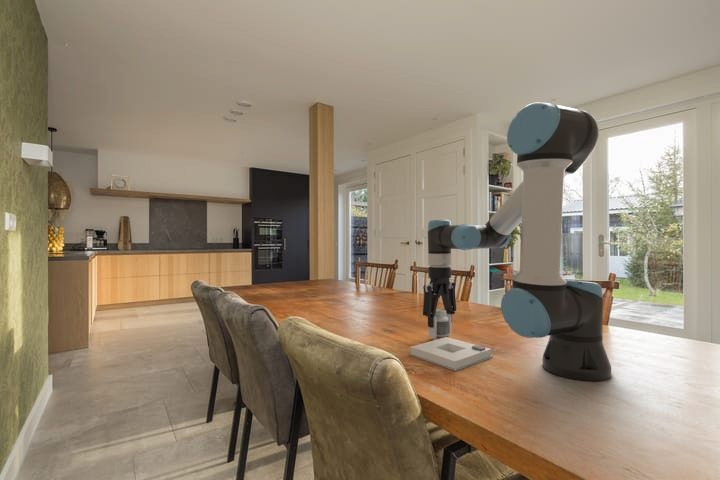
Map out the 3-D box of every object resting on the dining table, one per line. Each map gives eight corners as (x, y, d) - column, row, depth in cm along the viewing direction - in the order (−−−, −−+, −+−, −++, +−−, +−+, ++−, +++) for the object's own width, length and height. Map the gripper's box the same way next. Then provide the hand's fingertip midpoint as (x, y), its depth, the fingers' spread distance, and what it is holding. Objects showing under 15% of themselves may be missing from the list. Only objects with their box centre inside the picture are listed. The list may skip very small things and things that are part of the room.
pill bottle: (451, 339, 122) (451, 310, 122) (442, 342, 118) (442, 312, 118) (438, 336, 126) (437, 308, 126) (428, 339, 122) (428, 310, 122)
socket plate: (492, 357, 104) (492, 346, 104) (455, 371, 94) (455, 359, 94) (446, 344, 117) (446, 334, 117) (409, 354, 107) (409, 344, 107)
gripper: (449, 263, 131) (450, 327, 131) (410, 267, 119) (411, 337, 119) (467, 265, 125) (467, 332, 125) (427, 268, 113) (428, 342, 113)
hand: (440, 334), depth 122 cm, fingers open, 7 cm apart
